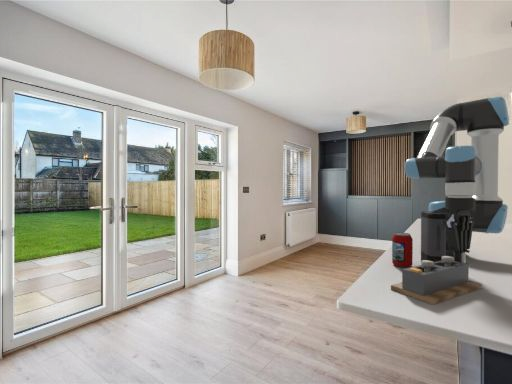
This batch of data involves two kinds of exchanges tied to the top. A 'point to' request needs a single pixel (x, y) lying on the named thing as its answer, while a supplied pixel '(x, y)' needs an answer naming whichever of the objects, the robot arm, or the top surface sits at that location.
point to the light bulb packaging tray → (434, 277)
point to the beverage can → (402, 249)
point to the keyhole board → (442, 294)
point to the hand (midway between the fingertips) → (459, 272)
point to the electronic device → (433, 236)
